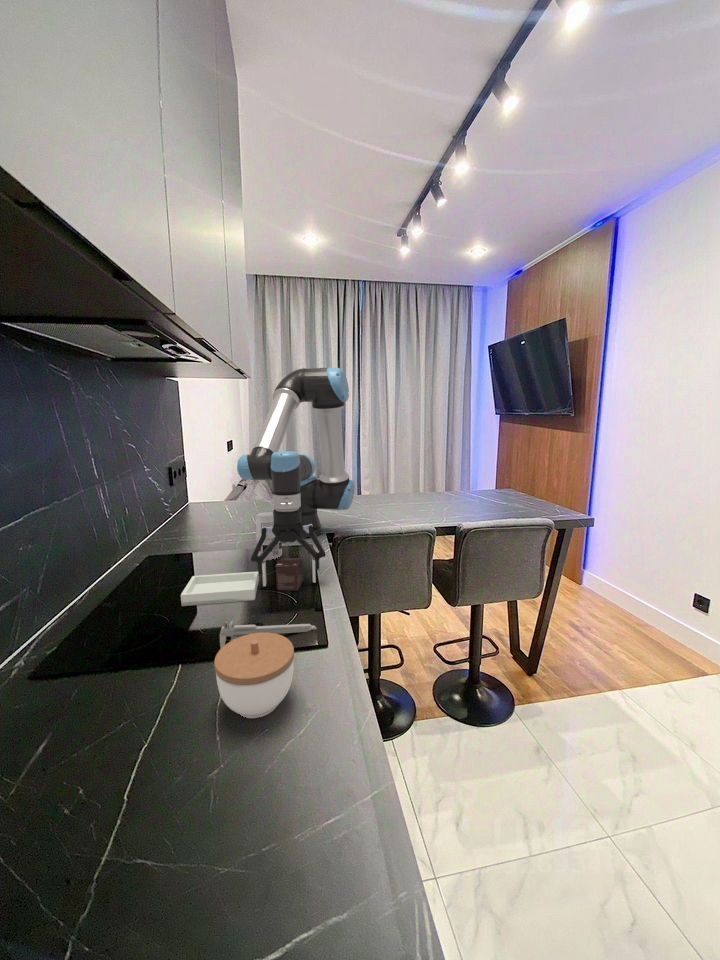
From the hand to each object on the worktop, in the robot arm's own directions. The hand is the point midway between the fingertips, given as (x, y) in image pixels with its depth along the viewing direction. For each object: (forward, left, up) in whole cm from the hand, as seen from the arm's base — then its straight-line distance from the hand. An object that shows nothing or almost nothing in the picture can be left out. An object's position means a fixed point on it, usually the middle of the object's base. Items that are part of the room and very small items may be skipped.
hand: (289, 582), depth 110 cm
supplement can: (-25, -7, -1) cm, 26 cm away
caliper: (+26, -4, -2) cm, 26 cm away
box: (0, 0, -1) cm, 1 cm away
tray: (+1, -18, -1) cm, 18 cm away
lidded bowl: (+45, -5, -1) cm, 45 cm away
